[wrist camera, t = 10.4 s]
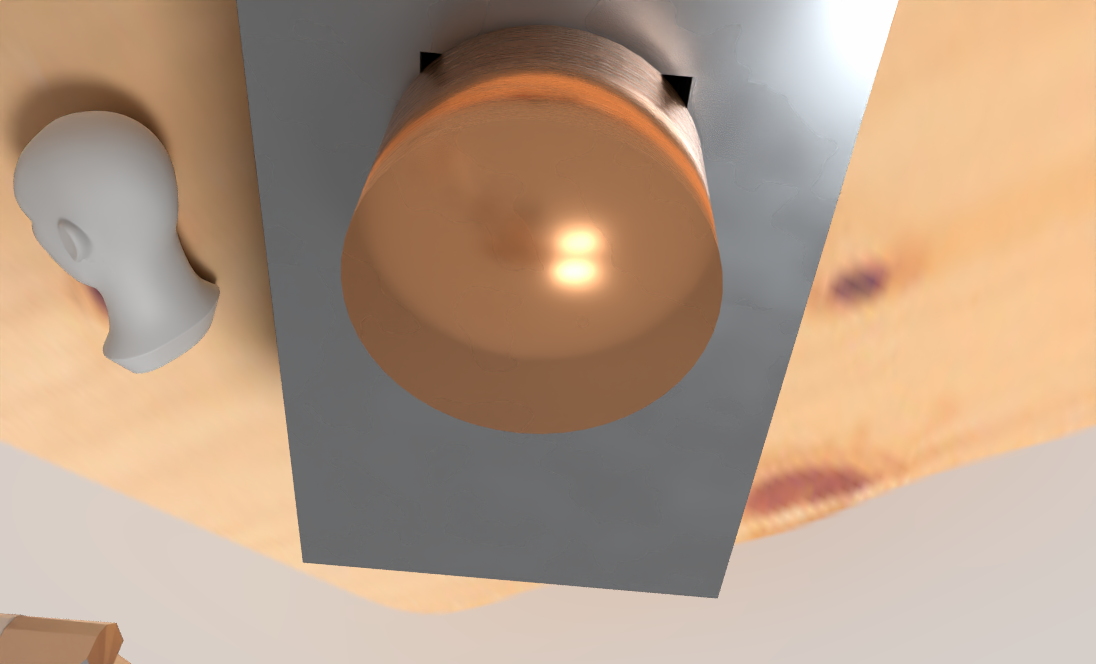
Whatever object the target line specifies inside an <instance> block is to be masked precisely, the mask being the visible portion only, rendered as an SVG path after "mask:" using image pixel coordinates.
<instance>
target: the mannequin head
mask: <svg viewBox="0 0 1096 664" xmlns="http://www.w3.org/2000/svg"><path fill="white" fill-rule="evenodd" d="M14 194H15V198H16V200H17V203H18V205H19V206H20V208H21V209H22V211H23V212H24V213H25V214H26V215H27V217H28V218H29V219H30V220H31V221H32V229H33V233H34V235H35V237H36V239H37V240H38V242H39V243H40V245H41V246H42V247H43V248H44V249H45V250H46V252H47V253H48V254H49V255H50V256H51V257H52V258H53V259H54V260H55V262H56V263H57V264H58V265H59V266H60V267H61V268H63V269H64V270H65V271H66V272H67V273H68V274H69V275H71V276H72V277H73V278H74V279H76V280H77V281H79V282H81V283H83V284H85V285H88V286H91V287H94V288H96V289H97V290H98V291H99V292H100V293H101V295H102V297H103V299H104V301H105V304H106V307H107V311H108V315H109V324H110V328H109V333H108V336H107V338H106V340H105V343H104V346H103V353H104V355H105V356H106V357H107V358H108V359H110V360H112V361H113V362H115V363H117V364H119V365H121V366H122V367H124V368H126V369H128V370H129V371H131V372H133V373H146V372H150V371H153V370H155V369H158V368H160V367H162V366H164V365H166V364H167V363H169V362H171V361H172V360H174V359H176V358H177V357H179V356H180V355H182V354H184V353H185V352H187V351H188V350H189V349H191V348H192V347H193V346H194V345H196V344H197V343H198V342H199V341H200V340H201V339H202V338H203V336H204V335H205V334H206V332H207V331H208V329H209V327H210V326H211V324H212V321H213V317H214V313H215V310H216V306H217V302H218V298H219V294H220V290H219V287H218V286H217V285H215V284H213V283H210V282H208V281H205V280H203V279H201V278H200V277H199V276H198V275H197V274H196V273H195V272H194V270H193V269H192V267H191V266H190V264H189V262H188V260H187V258H186V256H185V254H184V251H183V249H182V246H181V244H180V241H179V238H178V235H177V231H176V225H177V219H178V189H177V182H176V176H175V172H174V168H173V165H172V162H171V159H170V157H169V155H168V153H167V151H166V149H165V148H164V146H163V145H162V143H161V142H160V140H159V139H158V138H157V137H156V136H155V135H154V134H153V133H152V132H151V131H150V130H149V129H148V128H146V127H145V126H144V125H142V124H141V123H139V122H138V121H136V120H134V119H132V118H130V117H127V116H125V115H122V114H119V113H114V112H109V111H84V112H77V113H72V114H68V115H65V116H62V117H60V118H57V119H55V120H54V121H52V122H51V123H49V124H48V125H47V126H46V127H44V128H43V129H42V130H41V131H40V132H39V133H38V134H37V135H36V136H35V137H34V138H33V139H32V140H31V141H30V142H29V143H28V144H27V146H26V147H25V148H24V150H23V151H22V153H21V155H20V157H19V159H18V162H17V165H16V168H15V173H14Z"/></svg>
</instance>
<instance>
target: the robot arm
mask: <svg viewBox="0 0 1096 664" xmlns="http://www.w3.org/2000/svg"><path fill="white" fill-rule="evenodd" d="M122 643H123V638H122V635H121V633H120V631H119V628H118V625H117V623H111V622H110V623H109V622H97V621H84V620H70V619H56V618H43V617H30V616H24V615H16V614H0V664H131V663H130V662H128V661H127V660H125V659H124V658H123V657H121V656H120V655H119V654H118V652H119V650H120V647H121V645H122Z"/></svg>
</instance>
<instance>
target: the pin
mask: <svg viewBox="0 0 1096 664" xmlns="http://www.w3.org/2000/svg"><path fill="white" fill-rule="evenodd" d="M341 283H342V290H343V297H344V302H345V305H346V308H347V311H348V315H349V318H350V320H351V322H352V325H353V327H354V329H355V331H356V333H357V335H358V337H359V339H360V340H361V342H362V344H363V345H364V347H365V348H366V350H367V351H368V353H369V354H370V356H371V357H372V358H373V359H374V360H375V362H376V363H377V364H378V365H379V366H380V367H381V369H382V370H383V371H384V372H385V373H386V374H387V375H388V376H390V377H391V378H392V379H393V380H394V381H395V382H396V383H397V384H398V385H399V386H401V387H402V388H403V389H405V390H406V391H407V392H409V393H410V394H411V395H413V396H414V397H416V398H417V399H419V400H421V401H422V402H424V403H426V404H427V405H429V406H431V407H433V408H434V409H436V410H439V411H441V412H443V413H445V414H447V415H450V416H452V417H454V418H457V419H460V420H462V421H465V422H468V423H471V424H474V425H478V426H482V427H486V428H491V429H495V430H501V431H508V432H515V433H530V434H550V433H565V432H572V431H578V430H585V429H589V428H593V427H597V426H601V425H604V424H608V423H610V422H613V421H616V420H618V419H621V418H624V417H627V416H629V415H631V414H633V413H635V412H637V411H639V410H641V409H643V408H645V407H646V406H648V405H649V404H651V403H653V402H654V401H656V400H657V399H659V398H660V397H662V396H663V395H664V394H666V393H667V392H668V391H669V390H670V389H672V388H673V387H674V386H675V385H676V384H678V383H679V382H680V381H681V380H682V378H683V377H684V376H685V375H686V374H687V373H688V372H689V371H690V370H691V369H692V368H693V366H694V365H695V363H696V362H697V361H698V359H699V358H700V356H701V355H702V353H703V352H704V350H705V348H706V346H707V344H708V342H709V340H710V338H711V336H712V334H713V332H714V329H715V326H716V323H717V320H718V317H719V314H720V308H721V301H722V295H723V271H722V266H721V260H720V254H719V248H718V242H717V237H716V231H715V225H714V219H713V213H712V208H711V202H710V196H709V190H708V184H707V179H706V173H705V167H704V161H703V155H702V150H701V144H700V139H699V136H698V133H697V130H696V127H695V124H694V121H693V119H692V117H691V116H690V114H689V112H688V110H687V108H686V106H685V104H684V102H683V101H682V99H681V98H680V96H679V95H678V94H677V92H676V91H675V89H674V88H673V86H672V85H671V84H670V83H669V82H668V81H667V80H666V79H665V78H664V77H663V76H662V75H661V74H660V73H659V71H657V70H656V69H655V68H654V67H653V66H651V65H650V64H649V63H648V62H646V61H645V60H644V59H643V58H641V57H640V56H638V55H637V54H635V53H633V52H632V51H630V50H629V49H627V48H625V47H624V46H622V45H620V44H618V43H615V42H613V41H611V40H609V39H606V38H604V37H602V36H599V35H596V34H592V33H589V32H585V31H582V30H579V29H572V28H566V27H560V26H545V25H528V26H518V27H509V28H505V29H500V30H496V31H492V32H488V33H485V34H482V35H479V36H477V37H474V38H472V39H469V40H466V41H464V42H463V43H461V44H459V45H457V46H455V47H453V48H452V49H450V50H448V51H446V52H445V53H444V54H442V55H441V56H440V57H438V58H437V59H435V60H434V61H433V62H431V63H430V64H429V65H428V66H427V67H426V68H425V69H424V70H423V71H422V72H421V73H420V74H419V75H418V76H417V77H416V78H415V79H414V80H413V82H412V83H411V84H410V86H409V87H408V88H407V90H406V91H405V92H404V94H403V95H402V97H401V99H400V101H399V103H398V104H397V106H396V108H395V110H394V112H393V114H392V117H391V119H390V122H389V124H388V127H387V129H386V132H385V135H384V137H383V140H382V142H381V145H380V147H379V150H378V152H377V155H376V158H375V160H374V163H373V165H372V168H371V170H370V173H369V175H368V178H367V181H366V183H365V186H364V188H363V191H362V193H361V196H360V198H359V201H358V203H357V206H356V209H355V211H354V214H353V216H352V219H351V222H350V225H349V227H348V230H347V233H346V236H345V240H344V245H343V251H342V256H341Z"/></svg>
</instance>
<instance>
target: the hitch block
mask: <svg viewBox="0 0 1096 664" xmlns="http://www.w3.org/2000/svg"><path fill="white" fill-rule="evenodd" d="M236 2H237V10H238V18H239V27H240V35H241V44H242V52H243V61H244V69H245V78H246V86H247V94H248V103H249V111H250V120H251V128H252V137H253V145H254V153H255V162H256V170H257V179H258V187H259V196H260V204H261V213H262V221H263V229H264V238H265V246H266V255H267V263H268V272H269V280H270V288H271V297H272V305H273V314H274V322H275V331H276V339H277V347H278V356H279V364H280V373H281V381H282V390H283V398H284V407H285V415H286V423H287V432H288V440H289V449H290V457H291V466H292V474H293V482H294V491H295V499H296V508H297V516H298V525H299V533H300V542H301V550H302V558H303V563H315V564H326V565H338V566H349V567H361V568H372V569H384V570H396V571H407V572H419V573H430V574H442V575H453V576H465V577H476V578H488V579H499V580H511V581H523V582H534V583H546V584H557V585H569V586H581V587H593V588H603V589H615V590H627V591H638V592H650V593H661V594H673V595H684V596H696V597H707V598H718V595H719V592H720V589H721V585H722V582H723V578H724V575H725V572H726V569H727V565H728V562H729V558H730V555H731V552H732V549H733V546H734V542H735V539H736V536H737V532H738V529H739V526H740V522H741V519H742V516H743V512H744V509H745V506H746V502H747V499H748V496H749V493H750V489H751V486H752V483H753V479H754V476H755V473H756V469H757V466H758V463H759V459H760V456H761V453H762V449H763V446H764V443H765V440H766V436H767V433H768V430H769V426H770V423H771V420H772V416H773V413H774V410H775V406H776V403H777V400H778V396H779V393H780V390H781V387H782V383H783V380H784V377H785V373H786V370H787V367H788V363H789V360H790V357H791V353H792V350H793V347H794V343H795V340H796V337H797V334H798V330H799V327H800V324H801V320H802V317H803V314H804V310H805V307H806V304H807V300H808V297H809V294H810V290H811V287H812V284H813V281H814V277H815V274H816V271H817V267H818V264H819V261H820V257H821V254H822V251H823V247H824V244H825V241H826V237H827V234H828V231H829V228H830V224H831V221H832V218H833V214H834V211H835V208H836V204H837V201H838V198H839V194H840V191H841V188H842V185H843V181H844V178H845V175H846V171H847V168H848V165H849V161H850V158H851V155H852V151H853V148H854V145H855V141H856V138H857V135H858V132H859V128H860V125H861V122H862V118H863V115H864V112H865V108H866V105H867V102H868V98H869V95H870V92H871V88H872V85H873V82H874V79H875V75H876V72H877V69H878V65H879V62H880V59H881V55H882V52H883V49H884V45H885V42H886V39H887V35H888V32H889V29H890V26H891V22H892V19H893V16H894V12H895V9H896V6H897V2H898V0H236ZM528 25H545V26H560V27H566V28H572V29H579V30H582V31H585V32H589V33H592V34H596V35H599V36H602V37H604V38H606V39H609V40H611V41H613V42H615V43H618V44H620V45H622V46H624V47H625V48H627V49H629V50H630V51H632V52H633V53H635V54H637V55H638V56H640V57H641V58H643V59H644V60H645V61H646V62H648V63H649V64H650V65H651V66H653V67H654V68H655V69H656V70H657V71H659V73H660V74H661V75H662V76H663V77H664V78H665V79H666V80H667V81H668V82H669V83H670V84H671V85H672V86H673V88H674V89H675V91H676V92H677V94H678V95H679V96H680V98H681V99H682V101H683V102H684V104H685V106H686V108H687V110H688V112H689V114H690V116H691V117H692V119H693V121H694V124H695V127H696V130H697V133H698V136H699V139H700V144H701V150H702V155H703V161H704V167H705V173H706V179H707V184H708V190H709V196H710V202H711V208H712V213H713V219H714V225H715V231H716V237H717V242H718V248H719V254H720V260H721V266H722V271H723V295H722V301H721V308H720V314H719V317H718V320H717V323H716V326H715V329H714V332H713V334H712V336H711V338H710V340H709V342H708V344H707V346H706V348H705V350H704V352H703V353H702V355H701V356H700V358H699V359H698V361H697V362H696V363H695V365H694V366H693V368H692V369H691V370H690V371H689V372H688V373H687V374H686V375H685V376H684V377H683V378H682V380H681V381H680V382H679V383H678V384H676V385H675V386H674V387H673V388H672V389H670V390H669V391H668V392H667V393H666V394H664V395H663V396H662V397H660V398H659V399H657V400H656V401H654V402H653V403H651V404H649V405H648V406H646V407H645V408H643V409H641V410H639V411H637V412H635V413H633V414H631V415H629V416H627V417H624V418H621V419H618V420H616V421H613V422H610V423H608V424H604V425H601V426H597V427H593V428H589V429H585V430H578V431H572V432H565V433H550V434H530V433H515V432H508V431H501V430H495V429H491V428H486V427H482V426H478V425H474V424H471V423H468V422H465V421H462V420H460V419H457V418H454V417H452V416H450V415H447V414H445V413H443V412H441V411H439V410H436V409H434V408H433V407H431V406H429V405H427V404H426V403H424V402H422V401H421V400H419V399H417V398H416V397H414V396H413V395H411V394H410V393H409V392H407V391H406V390H405V389H403V388H402V387H401V386H399V385H398V384H397V383H396V382H395V381H394V380H393V379H392V378H391V377H390V376H388V375H387V374H386V373H385V372H384V371H383V370H382V369H381V367H380V366H379V365H378V364H377V363H376V362H375V360H374V359H373V358H372V357H371V356H370V354H369V353H368V351H367V350H366V348H365V347H364V345H363V344H362V342H361V340H360V339H359V337H358V335H357V333H356V331H355V329H354V327H353V325H352V322H351V320H350V318H349V315H348V311H347V308H346V305H345V302H344V297H343V290H342V283H341V256H342V251H343V245H344V240H345V236H346V233H347V230H348V227H349V225H350V222H351V219H352V216H353V214H354V211H355V209H356V206H357V203H358V201H359V198H360V196H361V193H362V191H363V188H364V186H365V183H366V181H367V178H368V175H369V173H370V170H371V168H372V165H373V163H374V160H375V158H376V155H377V152H378V150H379V147H380V145H381V142H382V140H383V137H384V135H385V132H386V129H387V127H388V124H389V122H390V119H391V117H392V114H393V112H394V110H395V108H396V106H397V104H398V103H399V101H400V99H401V97H402V95H403V94H404V92H405V91H406V90H407V88H408V87H409V86H410V84H411V83H412V82H413V80H414V79H415V78H416V77H417V76H418V75H419V74H420V73H421V72H422V71H423V70H424V69H425V68H426V67H427V66H428V65H429V64H430V63H431V62H433V61H434V60H435V59H437V58H438V57H440V56H441V55H442V54H444V53H445V52H446V51H448V50H450V49H452V48H453V47H455V46H457V45H459V44H461V43H463V42H464V41H466V40H469V39H472V38H474V37H477V36H479V35H482V34H485V33H488V32H492V31H496V30H500V29H505V28H509V27H518V26H528Z"/></svg>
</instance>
